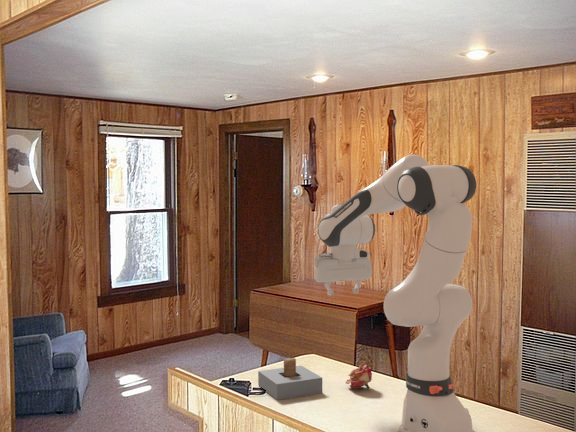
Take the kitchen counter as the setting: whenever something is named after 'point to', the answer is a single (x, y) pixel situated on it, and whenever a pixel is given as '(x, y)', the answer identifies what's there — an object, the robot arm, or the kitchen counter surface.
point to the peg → (289, 367)
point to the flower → (360, 377)
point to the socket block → (290, 383)
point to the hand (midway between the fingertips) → (343, 294)
